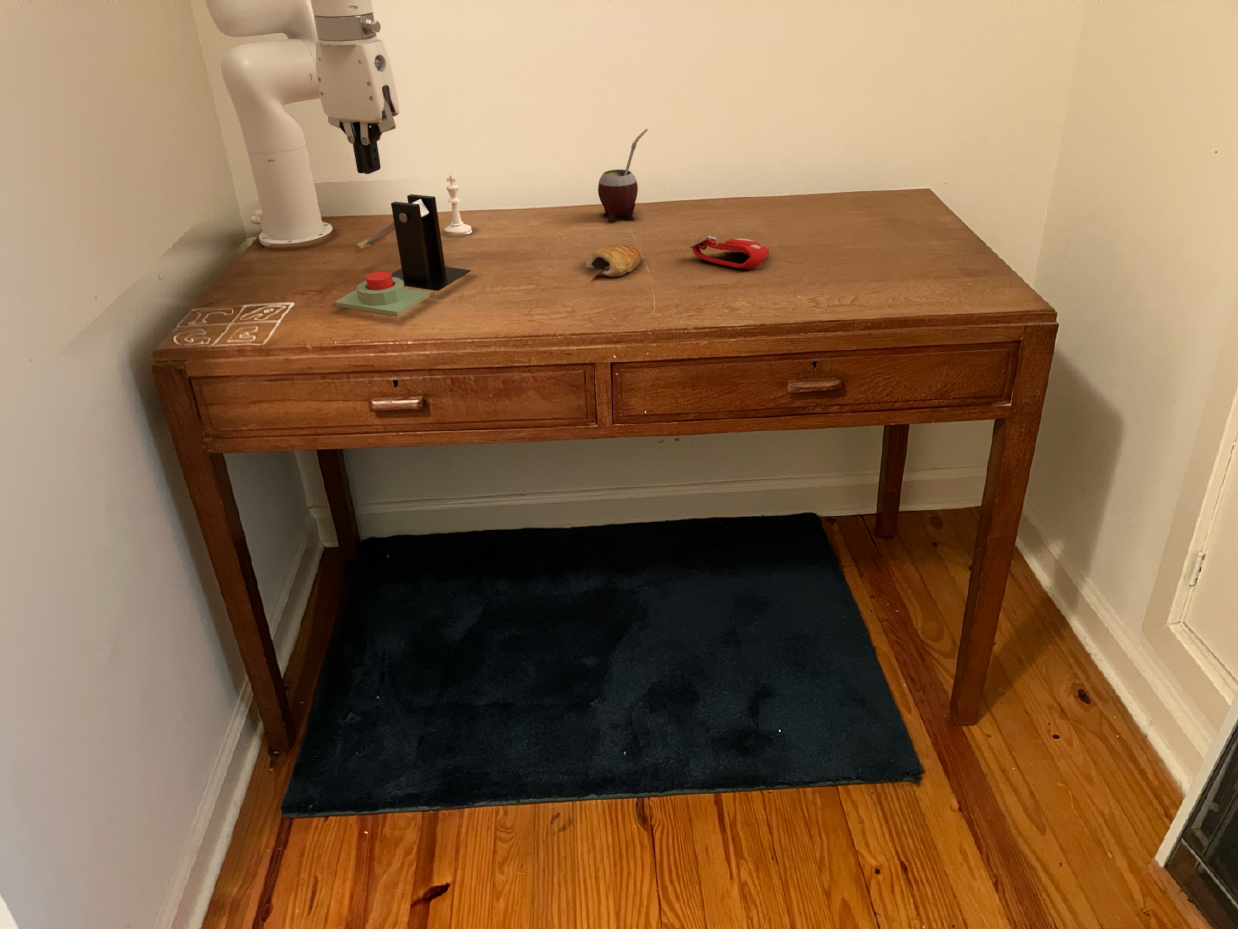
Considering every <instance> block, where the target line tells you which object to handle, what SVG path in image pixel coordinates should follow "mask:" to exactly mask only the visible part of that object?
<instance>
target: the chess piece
mask: <svg viewBox="0 0 1238 929" xmlns="http://www.w3.org/2000/svg"><path fill="white" fill-rule="evenodd" d="M457 180H458V179H457V178H456V177H454V175H453V174H449V178H448V177H447V178H446V182H449V183H450V184H449V185H446V190H447V192H448V194H449V197H450V198H448V200H447V202H448V203H450V204H451V222H450V225H447V226H445V228H444V229H443V231H444V232H448V233H457V234H465V235H471V234H472V232H473V229H472V226H471V225H469V224H467V223H464V221H462V217H461V212H460V210H459V205H458V203H460V202H461V199H460V198H459V197H458V192H459V185H457V184H455V183H457Z"/></svg>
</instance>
